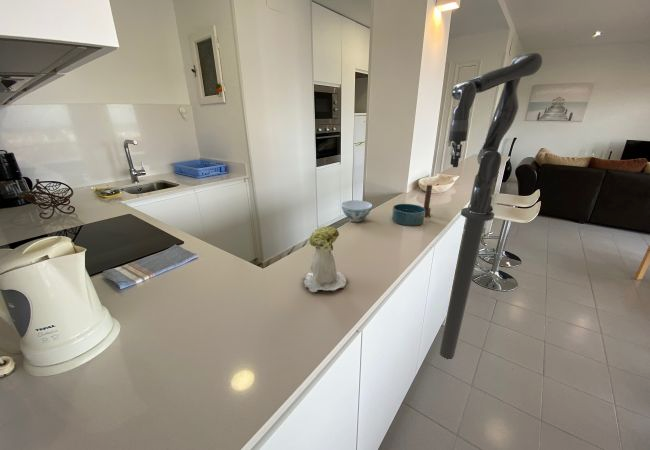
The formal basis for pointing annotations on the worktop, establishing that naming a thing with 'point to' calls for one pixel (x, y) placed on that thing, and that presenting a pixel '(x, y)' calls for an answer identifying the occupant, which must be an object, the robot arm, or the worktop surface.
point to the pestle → (427, 200)
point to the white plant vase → (324, 262)
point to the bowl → (408, 214)
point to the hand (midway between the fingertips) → (453, 165)
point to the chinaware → (356, 209)
